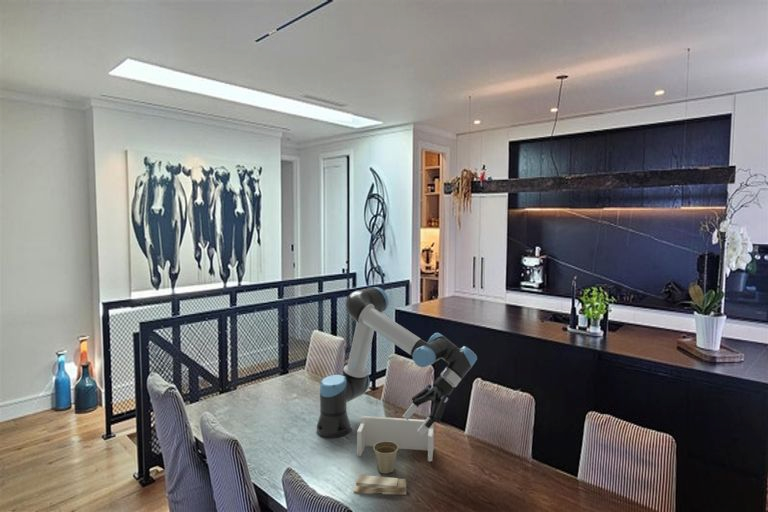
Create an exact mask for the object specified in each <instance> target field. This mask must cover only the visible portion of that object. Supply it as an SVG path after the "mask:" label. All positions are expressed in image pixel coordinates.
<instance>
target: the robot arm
mask: <svg viewBox="0 0 768 512" xmlns="http://www.w3.org/2000/svg"><path fill="white" fill-rule="evenodd" d="M388 306H389V297H388V295H387V293H386V291H385V289H384V290H383V289H382V288H380V287H378V286H377V287H376V286H374V287H372V286H370V287H367V288H363V289H357V290H355V291H352V292H350V294H349V295H348V296H347V298H346V301H345V308H346V312H347V314H348V315H349V316H350V317H351V318H352V319H353V320H354V321H355V322H356V323H355V324H356V325H355V330H354V334H353V338H352V343H351V347H350V351H349V352H350V353H349V356H348V361H347V364H345V365H344V366H343V369H342V374H332V375H328V376H326V377H324V378H322V380H321V381H320V384H319V408H320V409H319V412H320V413H319V417H318V420H317V424H316V434H317V435H319V436H320V437H323V438H332V439H333V438H334V439H335V438H340V437H344V436H346V435H348V434H349V433H350V432H351V431H352V430H351V422H350V419H349V416H348V412H347V403H349V402H351V401H352V400H354V399H356V398H359V397H361V396H363V395H364V394H365V393H366V392H367V391H368V389H369V388H370V384H371V379H370V377H369V376H370V375H369V371H368V369H367V364H368V359H369V355H370V350H371V346H372V342H373V338H374V334H375V332H376V333H378V334H379V335H381V336H382V337H383V338H385V339H386V340H387V341H390V342H391V343H392V344H394V345H395V346H396V347H398V348H400V349H401V350H402V351H404V352H406V353H407V354H408V355H410V356H411V357H412V360H413V362H414V364H415V365H416V366H417V367H419V368H425V367H426V368H427V367H428V366H432V365H433V364H435V363H436V362H438V361H440V360H441V359H442V360H443V361H444V362H446V363H447V365H446V366H445V368H444V369H443V370H442V371H441V372H440V374H439V375H440V376H438V377H437V378H436V379H435V380H434V382H433V384H434V385H433V386H432V385H431V384H428V385H427V386H426V387H425V388H424V389H422V390H421V391H419V392H418V393H417V394H414V396H412V398H411V401H412V403H411V404H410V405H409V407H408V408H407V409H406V411H405V412H404V413H403V415H402V417H403V419H406V420H407V421H408V419H411V417H412V415H414V413H415V412H416V411H417V410H418V408H419V406H421V405H422V404H424V403H427V402H429V401H432V408H431V412H430V415H429V416H427V418H425V419H424V420H425V421H424V423H423V424H422V425H421V426H420V428H419V429H418V430H417V431H418V432H419V433H420V434H421V435H422V436H423V435H424V433H425V432H426V431H427V430H428V428H430V427H431V425H432V424H433V423H434V424H435V423H436V422H437V423H438V424H439V423H440V422H441V419H442V418H443V415H444V412H445V409H446V407H447V405H448V403H449V402H450V398H449V396H450V395H451V394H452V392H453V391H454V390H455V389H454V388H457V386H458V385H459V383H461V381H462V379H463V378H464V377H465V376H466V375H467V373H468V372H469V371H470V370H471V369H472V368H473V366H474V364H475V363H476V362H477V361H478V356H477V354H476V353H475V352H474V351H473V350H471V349H470V348H469V347H468V346H465V345H463V346H462V347H461V348H460V347H458V346H457V345H456V344H455V343H453V342H452V341H451V340H449V338H447V337H446V336H445V335H443V334H441V333H439V332H435V333H433V334H432V335H431V336H429V339H428V340H427V341H425V340H423V339H422V338H420V337H419V336H418V335H416V334H414V333H413V332H411V331H409V330H408V329H407V328H405V327H404V326H402V325H401V324H398V323H397V322H396V321H394V320H393V319H391V318H390V317H388V316H387V315H385V314H384V313H383V312H385V311H386V310H387V308H388Z"/></svg>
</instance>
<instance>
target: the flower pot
mask: <svg viewBox="0 0 768 512" xmlns="http://www.w3.org/2000/svg"><path fill="white" fill-rule="evenodd" d="M372 447H373V451H374V453H375V459H376V463H377V471H379V473H381V474H389V473H393V472H394V470H395V466H396V459H397V453H398V450H399V449H400V448H399V447H398V445H397V444H396V443H394V442H390V441H383V442H379V443H376V444H375V445H374V446H372Z"/></svg>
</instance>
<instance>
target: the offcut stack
mask: <svg viewBox="0 0 768 512" xmlns="http://www.w3.org/2000/svg"><path fill="white" fill-rule="evenodd" d="M373 493H382V494H381V495H400V496H401V495H402V496H406V495H407V482H406V478H399V477H388V476H378V475H377V476H375V475H365V474H359V475H358V477H357V479H356V480H355V484H354V488H353V494H371V495H372V494H373Z"/></svg>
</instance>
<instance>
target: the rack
mask: <svg viewBox="0 0 768 512" xmlns="http://www.w3.org/2000/svg"><path fill="white" fill-rule="evenodd" d="M425 420H426V419H418V418H417V419H415V418H413V419H412V418H409V419H408V421H407V420H406V419H405V418H404V417H403V418H399V417H384V416H369V415H361V417H360V424H359V426H358V429H357V431H356V441H357V442H356V443H357V444H356V451H357V453H356V455H357V457H358V456H359V457H362V455H363V452H364V450H365V448H366V447H374V445H375V444H376V443H379V442H383V441H390V442H394V443H396V444H397V445H398V447H399V448H398V449H403V450H404V449H405V450H415V451H427V462H431V461H432V462H433V457H434V450H435V444H434V443H435V422H434V423H433V424H432V425H431V427H430V428H428V430H427V431H426V432H425V433H424V435H423V436H422V435H421V434H420V433H419V432H418V431H417V430H418V429H419V428H420V426H421V425H422V424H423V423H424V421H425Z"/></svg>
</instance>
